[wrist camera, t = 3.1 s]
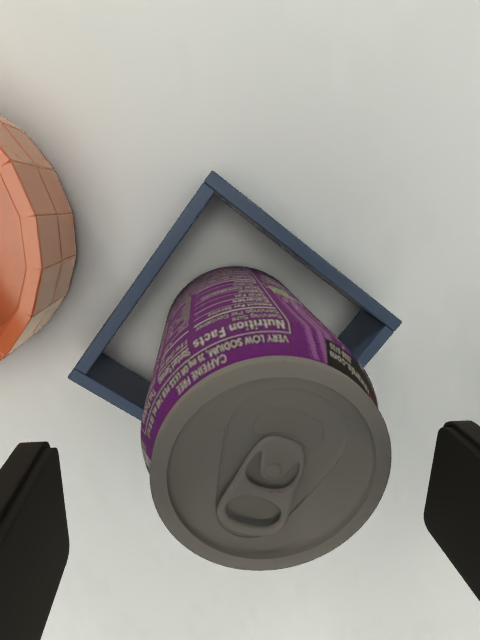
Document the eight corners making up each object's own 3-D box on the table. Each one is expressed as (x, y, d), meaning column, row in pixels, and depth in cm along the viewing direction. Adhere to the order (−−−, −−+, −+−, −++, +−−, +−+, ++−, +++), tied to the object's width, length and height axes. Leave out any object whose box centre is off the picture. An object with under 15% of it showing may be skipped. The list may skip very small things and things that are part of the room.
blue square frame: (376, 306, 22) (403, 322, 19) (252, 455, 24) (260, 490, 21) (210, 174, 19) (212, 169, 16) (84, 354, 21) (66, 378, 18)
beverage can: (266, 406, 23) (334, 608, 12) (147, 365, 22) (90, 550, 10) (320, 294, 22) (459, 399, 10) (195, 242, 20) (192, 295, 9)
